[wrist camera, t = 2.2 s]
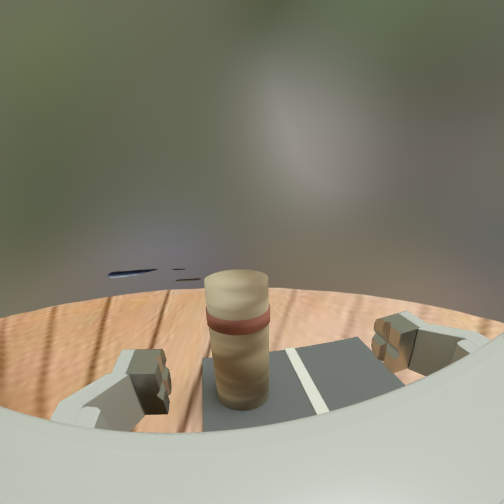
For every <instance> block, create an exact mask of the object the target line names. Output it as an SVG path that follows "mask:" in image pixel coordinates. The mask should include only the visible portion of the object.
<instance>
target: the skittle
mask: <svg viewBox="0 0 504 504" xmlns="http://www.w3.org/2000/svg"><path fill="white" fill-rule="evenodd" d="M204 284H205V294H206V304H207V306H206V316H207V324H208V326H209V332H210V341H211V349H212V357H213V364H214V372H215V379H216V386H217V393H218V398H219V401H220V402H221V403H222V404H223V405H224V406H226V407H227V408H230V409H233V410H237V411H248V410H253V409H256V408H258V407H260V406H262V405H263V404H264V403H265V402H266V401H267V400H268V397H269V322H270V305H269V298H268V276H267V275H266V274H264V273H262V272H259V271H254V270H228V271H221V272H217V273H214V274H212V275H209V276H208V277H206V278H205V280H204Z"/></svg>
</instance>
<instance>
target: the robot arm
mask: <svg viewBox="0 0 504 504" xmlns="http://www.w3.org/2000/svg"><path fill="white" fill-rule="evenodd" d="M374 330H375V332H376V334H375V335H374V337H373V338H372V344H371V347H372V352H373V354H374V356H375V357H376V358H377V359H378V360H381V361H384V363H383V365H384V366H385V367H386V368H387V369H388V370H389V371H390V372H391V373H395V372H398V371H401V370H404V369H407V368H408V369H410V370H412V371H415V372H417V373H420V374H422V375H424V376H426V377H424V378H422V379H419V380H417V381H415V382H413V383H410V384H408V385H406V386H403V387H401V388H398V389H396V390H393V391H391V392H388V393H386V394H383V395H380V396H377V397H375V398H372V399H369V400H366V401H363V402H360V403H357V404H354V405H350V406H347V407H344V408H340V409H337V410H333V411H330V412H326V413H322V414H318V415H314V416H310V417H305V418H301V419H296V420H292V421H287V422H281V423H276V424H270V425H264V426H257V427H250V428H242V429H234V430H224V431H211V432H194V433H143V432H130V431H131V430H132V429H133V428H134V427H135V426H136V425H137V424H138V423H139V422H140V421H141V419H142V418H143V417H144V416H145V415H161V414H168V411H169V403H170V401H169V398H168V395H170V394H171V377H170V372H169V369H168V368H167V367H166V366H165V363H166V357H165V353H164V351H163V349H137V350H136V349H128V350H122V351H121V353H120V355H119V358H118V360H117V362H116V364H115V366H114V368H113V370H112V372H111V374H106V375H104V376H103V377H101V378H99V379H98V380H96V381H94V382H93V383H91V384H89V385H88V386H86V387H84V388H83V389H81V390H79V391H77V392H76V393H74V394H72V395H71V396H69V397H67V398H65V399H64V400H62V401H60V403H59V404H58V406H57V408H56V410H55V412H54V413H53V415H52V417H51V419H50V420H47V419H42V418H38V417H34V416H31V415H27V414H24V413H20V412H17V411H14V410H10V409H7V408H4V407H1V406H0V504H504V332H503V333H502V334H500V335H499V336H497V337H496V338H494V339H493V340H489V339H488V338H486V337H484V336H483V335H481V334H479V333H478V332H474V331H468V330H462V329H457V328H451V327H445V326H440V325H434V324H430V325H429V324H427V323H426V322H424V321H422V320H421V319H419V318H418V317H416V316H415V315H413V314H412V313H410V312H408V311H403V312H400V313H397V314H394V315H390V316H387V317H383V318H380V319H376V321H375V323H374Z"/></svg>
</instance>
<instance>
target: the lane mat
mask: <svg viewBox="0 0 504 504" xmlns="http://www.w3.org/2000/svg"><path fill="white" fill-rule="evenodd" d="M403 386H405V385H404V384H403V383H402V382H401V381H400V380H399V379H398V378H397V377H396V376H395V375H394V374H393V373H391V372H390V371H389V370H388V369H387V368H386V367H385V366H384V365H383V362H382V361H381V360H378V359H377V358H376V357H375V356H374V354H373V352H372V351H371V350H370V349H369V348H368V347H367V346H366V345H365V344H364V343H363V342H362V341H361V340H360V339H359V338H358V337H354V338H349V339H344V340H339V341H334V342H329V343H324V344H318V345H312V346H306V347H300V348H294V347H293V348H287V349H285V350H280V351H273V352H269V397H268V400H267V401H266V402H265V403H264V404H263V405H262V406H260V407H258V408H256V409H253V410H248V411H237V410H233V409H230V408H227V407H226V406H224V405H223V404H222V403H221V402H220V401H219V398H218V393H217V386H216V379H215V372H214V364H213V358H203V430H204V432H211V431H224V430H234V429H242V428H250V427H257V426H264V425H270V424H276V423H281V422H287V421H292V420H296V419H301V418H305V417H310V416H314V415H318V414H322V413H326V412H330V411H333V410H337V409H340V408H344V407H347V406H350V405H354V404H357V403H360V402H363V401H366V400H369V399H372V398H375V397H377V396H380V395H383V394H386V393H388V392H391V391H393V390H396V389H398V388H401V387H403Z"/></svg>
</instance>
